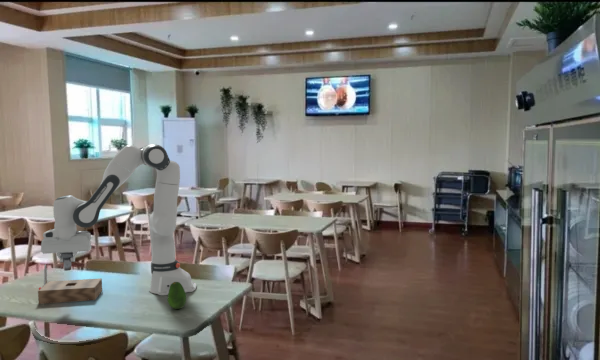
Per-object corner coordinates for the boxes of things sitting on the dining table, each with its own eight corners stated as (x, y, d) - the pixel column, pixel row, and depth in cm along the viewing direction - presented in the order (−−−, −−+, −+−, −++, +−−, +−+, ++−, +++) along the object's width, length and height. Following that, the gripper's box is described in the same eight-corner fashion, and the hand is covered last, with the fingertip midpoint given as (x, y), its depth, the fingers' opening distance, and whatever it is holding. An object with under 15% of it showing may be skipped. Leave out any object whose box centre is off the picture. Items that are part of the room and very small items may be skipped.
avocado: (170, 305, 204) (169, 279, 203) (187, 305, 204) (187, 279, 203) (166, 312, 196) (165, 285, 195) (184, 311, 196) (184, 284, 195)
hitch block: (102, 290, 225) (101, 278, 224) (95, 300, 211) (94, 287, 211) (49, 293, 220) (48, 281, 220) (38, 303, 207) (37, 290, 206)
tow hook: (49, 285, 234) (36, 290, 225) (49, 260, 233) (36, 264, 224) (64, 286, 233) (52, 291, 224) (64, 261, 232) (52, 265, 223)
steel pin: (75, 267, 210) (74, 251, 209) (72, 270, 205) (71, 253, 204) (63, 268, 209) (62, 251, 208) (60, 271, 204) (59, 254, 203)
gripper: (92, 229, 211) (93, 258, 212) (43, 231, 206) (45, 261, 208) (88, 231, 205) (90, 262, 206) (38, 234, 200) (40, 265, 202)
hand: (67, 261), depth 207 cm, fingers closed on steel pin, 3 cm apart
